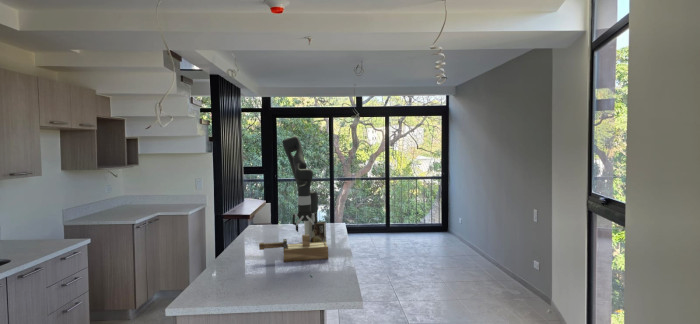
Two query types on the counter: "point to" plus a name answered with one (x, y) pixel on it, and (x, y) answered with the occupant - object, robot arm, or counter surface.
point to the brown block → (270, 245)
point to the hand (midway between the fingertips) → (305, 231)
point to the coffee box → (318, 232)
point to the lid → (306, 243)
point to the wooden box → (304, 253)
